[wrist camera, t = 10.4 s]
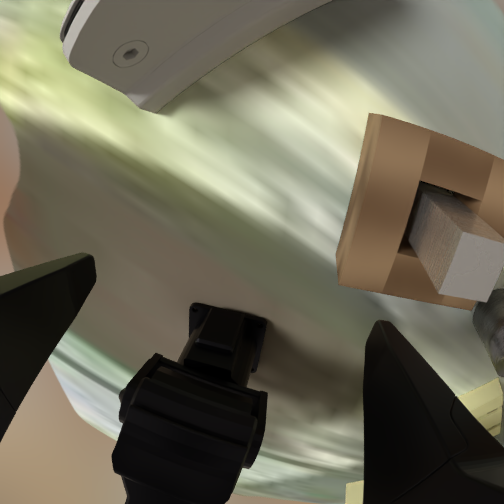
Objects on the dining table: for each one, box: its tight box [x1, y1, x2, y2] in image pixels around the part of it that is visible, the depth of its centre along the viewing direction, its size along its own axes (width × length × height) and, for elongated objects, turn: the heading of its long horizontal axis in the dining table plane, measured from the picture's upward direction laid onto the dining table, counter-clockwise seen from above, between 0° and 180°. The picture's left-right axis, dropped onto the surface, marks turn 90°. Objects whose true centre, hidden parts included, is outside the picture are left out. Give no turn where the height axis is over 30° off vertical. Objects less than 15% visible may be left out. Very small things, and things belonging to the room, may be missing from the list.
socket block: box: [336, 113, 504, 310], centre depth 17 cm, size 10×10×4 cm
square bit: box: [404, 182, 504, 302], centre depth 15 cm, size 3×3×9 cm
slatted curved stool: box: [345, 378, 503, 504], centre depth 21 cm, size 30×16×18 cm, turn 33°
